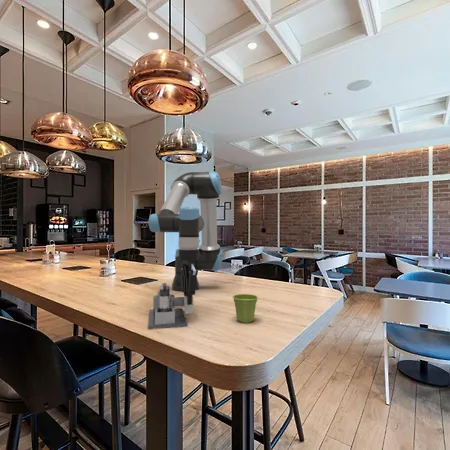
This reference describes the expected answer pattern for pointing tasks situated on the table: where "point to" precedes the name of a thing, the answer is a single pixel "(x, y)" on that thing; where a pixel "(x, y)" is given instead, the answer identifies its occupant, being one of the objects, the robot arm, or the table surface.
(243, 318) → the plant pot
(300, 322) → the table surface
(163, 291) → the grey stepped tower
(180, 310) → the base
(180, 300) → the grey machine part
